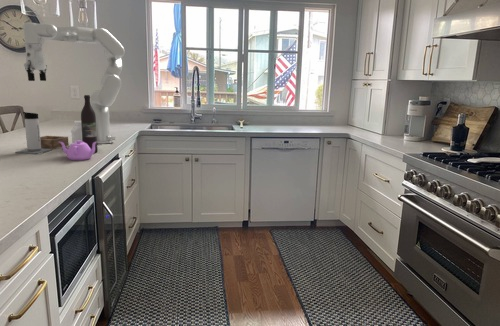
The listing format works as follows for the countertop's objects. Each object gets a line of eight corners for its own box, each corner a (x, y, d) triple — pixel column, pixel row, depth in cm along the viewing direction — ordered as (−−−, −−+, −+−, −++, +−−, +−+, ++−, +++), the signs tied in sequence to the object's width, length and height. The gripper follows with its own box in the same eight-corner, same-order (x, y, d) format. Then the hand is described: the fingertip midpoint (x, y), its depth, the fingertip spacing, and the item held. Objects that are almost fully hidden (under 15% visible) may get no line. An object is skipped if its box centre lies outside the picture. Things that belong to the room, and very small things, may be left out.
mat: (52, 150, 196) (52, 148, 195) (37, 154, 184) (37, 153, 184) (31, 148, 197) (31, 147, 196) (15, 152, 185) (15, 151, 185)
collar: (68, 145, 211) (68, 136, 210) (54, 149, 198) (53, 140, 197) (47, 144, 212) (46, 135, 211) (32, 147, 199) (31, 138, 198)
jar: (70, 149, 198) (68, 122, 195) (75, 146, 208) (73, 120, 204) (93, 149, 201) (91, 122, 198) (96, 146, 210) (95, 120, 207)
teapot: (98, 158, 180) (97, 140, 178) (70, 162, 169) (69, 143, 167) (87, 154, 187) (86, 137, 185) (59, 158, 177) (57, 140, 175)
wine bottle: (81, 153, 189) (77, 95, 182) (85, 151, 195) (81, 94, 189) (95, 153, 190) (92, 95, 183) (99, 151, 196) (96, 95, 190)
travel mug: (25, 150, 190) (21, 111, 185) (39, 148, 194) (35, 111, 190) (28, 152, 185) (25, 112, 181) (43, 150, 190) (39, 112, 186)
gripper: (29, 46, 183) (33, 81, 187) (50, 49, 200) (53, 80, 204) (15, 46, 184) (19, 80, 188) (37, 48, 200) (40, 80, 204)
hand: (37, 80), depth 196 cm, fingers open, 9 cm apart
